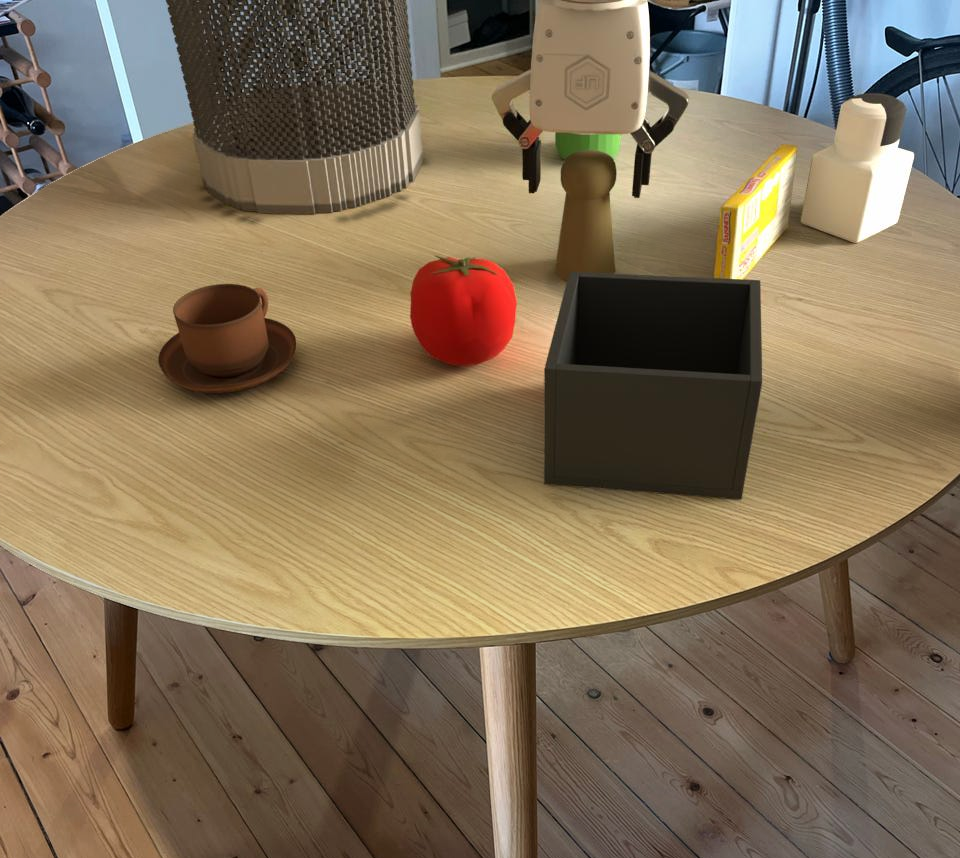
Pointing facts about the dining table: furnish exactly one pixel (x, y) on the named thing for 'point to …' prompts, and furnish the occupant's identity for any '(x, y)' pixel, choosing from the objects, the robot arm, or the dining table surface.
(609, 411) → the bin
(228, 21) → the wastebasket
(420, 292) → the tomato
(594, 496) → the dining table surface
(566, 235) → the brown pawn
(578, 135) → the wine bottle
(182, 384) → the cup and saucer
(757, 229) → the candy box
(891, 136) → the medicine bottle
